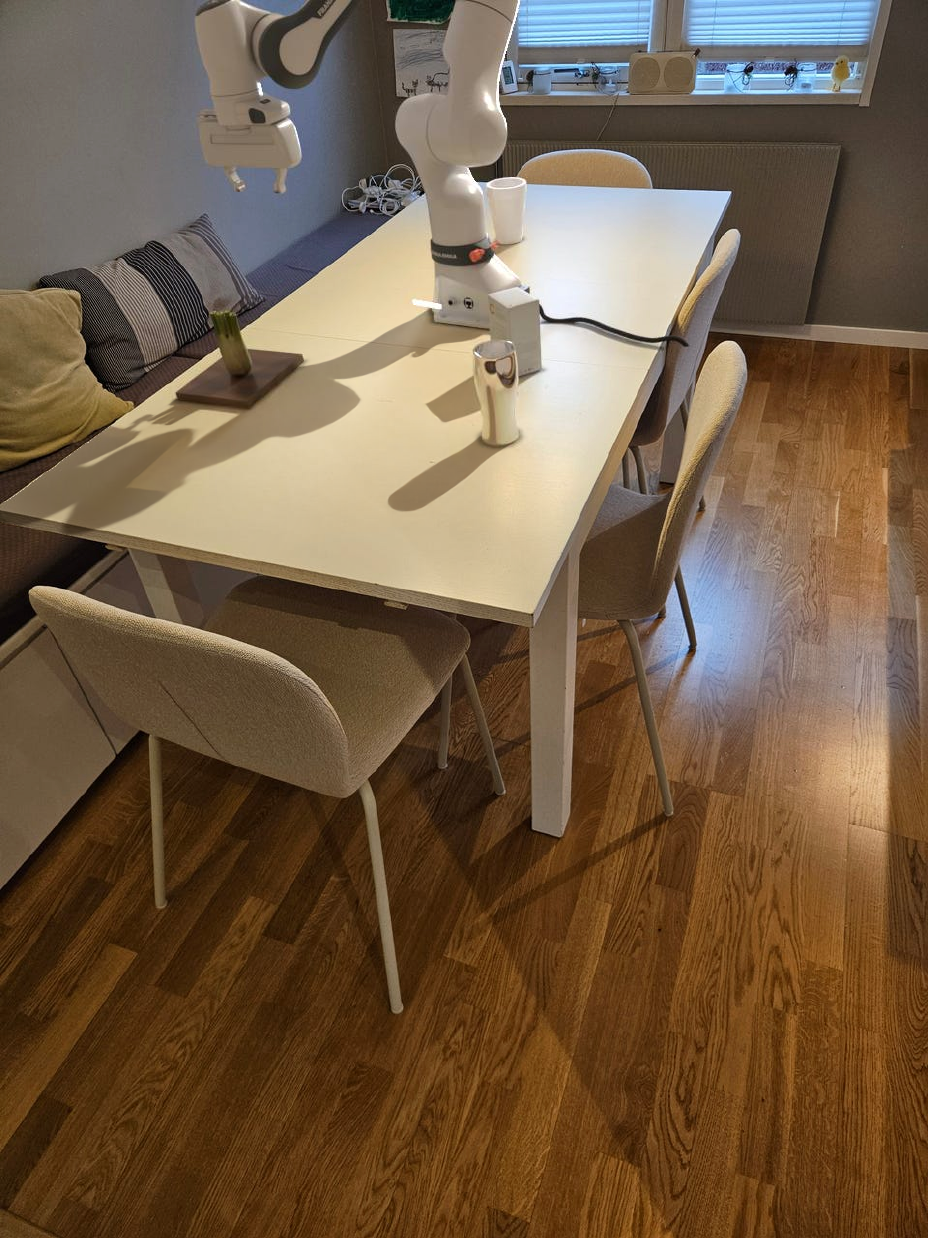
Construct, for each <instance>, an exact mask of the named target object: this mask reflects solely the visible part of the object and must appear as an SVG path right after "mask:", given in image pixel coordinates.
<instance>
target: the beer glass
mask: <svg viewBox="0 0 928 1238" xmlns="http://www.w3.org/2000/svg"><path fill="white" fill-rule="evenodd" d="M472 374H473V382H474V383H473V384H474V388H475V394H476V397H477V401H478V405H479V408H480V411H481V419H482V427H481V434H480V435H481V440H482V441H483V442H484V443H485V444H487V445H490V446H507V445H511V444H512V443H514V442H515V441H517V440H518V439H519V435H520V432H519V428H518V425H517V419H516V407H517V399H518V390H519V377H518V363H517V356H516V347H515V345H514V344H513V343H511V342H509V341H505V340H491V339H490V340H486V341H483V342H480V343H478V344H476V345H475V346H474V347H473V349H472Z"/></svg>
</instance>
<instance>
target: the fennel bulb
mask: <svg viewBox="0 0 928 1238" xmlns="http://www.w3.org/2000/svg"><path fill="white" fill-rule="evenodd" d="M209 317H210V319H211V322H212V326H213V329H214V333H215V337H216V342H217V345H218V349H219V352H220V355H221V357H223V360H224V363H225V366H226V368H227V370H228V372H229V373H230V374H231V375H233V376H242V375H245V374H247V373H248V372H250V370H251V369H252V361H251V358H250V355H249V353H248V350H247V349H248V348H247V346H246V343H245V341H244V338H243V336H242V332H241V328H240V325H239V321H238V315H237V314H236V313H235V312H231V311H230V310H228V309H226V310H225V311H224V312H223V311H218V312H217V311H216V310H214V311H213V310H212V311H210V312H209Z"/></svg>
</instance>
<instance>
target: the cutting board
mask: <svg viewBox="0 0 928 1238" xmlns="http://www.w3.org/2000/svg"><path fill="white" fill-rule="evenodd" d="M247 350H248V353H249V355H250V358H251V361H252V369H251V370H250V372H248V373H247V374H245V375H242V376H233V375H231V374H230V373H229V372H228V370H227V368H226V366H225V363H224V360H223V357H222V356H221V357H220V358H219V359H217V360H216V361H215V362H213V363H212V364H210V365H209V366H208V367H207V368H206V369H205V370H203V371H202V372H201V373H199V374H198V375H196V376H195V377H194V378H192V379H191V380H190V381H189V382H187V383H186V384H185V385H183V386H182V387H180V388H179V389H178V390H176V391H175V392H174V393H175V397H176V399H177V401H185V402H192V403H193V402H194V403H201V404H207V405H208V404H209V405H216V406H225V407H232V408H239V409H248V410H249V409H250V408H251V407H252V406H254V405H255V404H256V403H257V402H258V401H260V399H261V398H263V397H264V396H265V395H266V394H268V393H269V392H270V391H271V390H272V389H273V388H275V387H276V386H277V385H278V384H279V383H280V382H281V381H282V380H284V379H285V378H286V377H288V375H289V374H291V373H292V372H293V371H294V370H295V369H296V368H298V367H299V366H300V365H301V364H302V363H304V362H305V361H304V356H303V353H295V352H287V351H286V352H284V351H275V350H265V349H255V348H247Z"/></svg>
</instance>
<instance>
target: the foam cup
mask: <svg viewBox="0 0 928 1238" xmlns="http://www.w3.org/2000/svg"><path fill="white" fill-rule="evenodd" d="M485 186H486V196H487V198H488V204H489V207H490V214H491V219H492V220H491V221H492V224H493V229H494V235H495V242H496V241H498V243H497V244H500V245H513V244H517V243H520V242H521V241H522V240H523V236H524V235H523V234H524V223H525V222H524V220H525V208H526V207H525V206H526V197H527V196H526V195H527V189H528V188H527V180H526V179H525V178H521V177H515V176H514V177H510V176H509V177H502V178H501V177H500V178H495V179H493V180H491V181H488V182H487V183H486V184H485Z"/></svg>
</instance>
